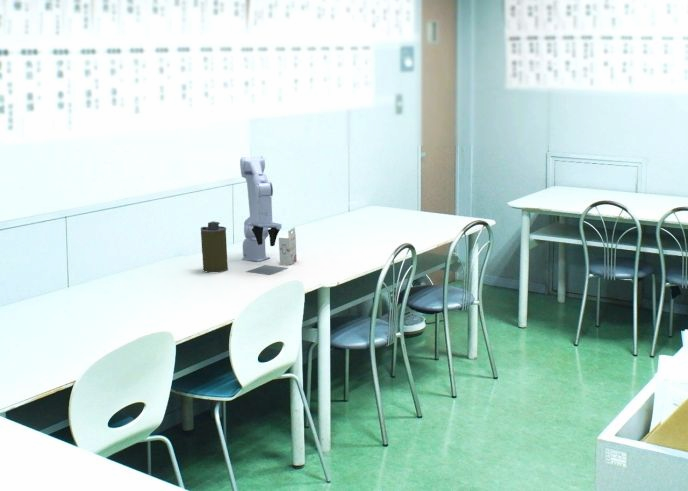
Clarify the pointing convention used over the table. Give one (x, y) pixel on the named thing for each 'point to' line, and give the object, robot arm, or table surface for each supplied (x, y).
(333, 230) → the table surface
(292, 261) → the ink cartridge box
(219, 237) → the canister
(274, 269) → the mat
